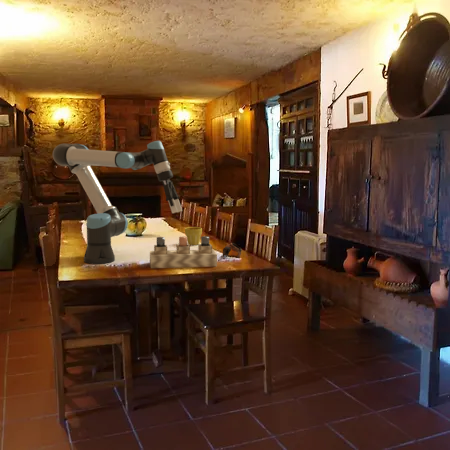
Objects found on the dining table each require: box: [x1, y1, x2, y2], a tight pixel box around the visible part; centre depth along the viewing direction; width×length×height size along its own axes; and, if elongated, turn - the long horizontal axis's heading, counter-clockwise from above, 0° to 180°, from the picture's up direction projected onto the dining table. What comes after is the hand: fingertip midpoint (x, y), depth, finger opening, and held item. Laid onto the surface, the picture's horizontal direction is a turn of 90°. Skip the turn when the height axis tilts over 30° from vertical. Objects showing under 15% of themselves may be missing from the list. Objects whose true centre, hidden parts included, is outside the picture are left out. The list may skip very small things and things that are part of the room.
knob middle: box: [178, 236, 188, 247], centre depth 245 cm, size 4×4×4 cm
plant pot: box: [184, 226, 203, 246], centre depth 299 cm, size 10×10×10 cm
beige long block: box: [149, 243, 218, 269], centre depth 246 cm, size 32×12×10 cm, turn 101°
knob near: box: [156, 236, 166, 247], centre depth 242 cm, size 4×4×4 cm
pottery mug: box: [221, 242, 243, 258], centre depth 266 cm, size 12×10×8 cm
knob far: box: [200, 235, 210, 246], centre depth 247 cm, size 4×4×4 cm
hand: (177, 212), depth 249 cm, fingers open, 13 cm apart
